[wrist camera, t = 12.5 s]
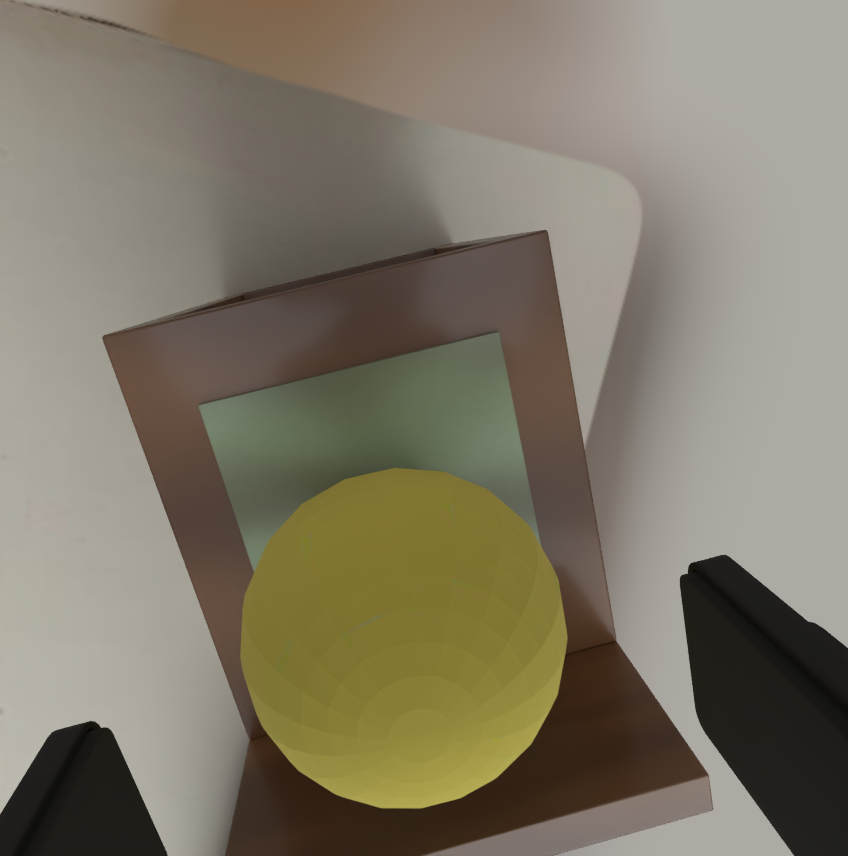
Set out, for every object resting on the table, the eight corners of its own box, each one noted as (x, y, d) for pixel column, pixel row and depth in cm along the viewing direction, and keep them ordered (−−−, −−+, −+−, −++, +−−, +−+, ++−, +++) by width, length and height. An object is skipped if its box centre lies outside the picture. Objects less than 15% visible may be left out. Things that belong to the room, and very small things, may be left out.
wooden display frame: (223, 298, 35) (-19, 372, 12) (453, 243, 36) (635, 216, 13) (300, 545, 39) (226, 949, 16) (505, 492, 40) (714, 810, 17)
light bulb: (352, 359, 19) (353, 464, 9) (535, 473, 20) (701, 667, 11) (236, 543, 20) (126, 812, 10) (418, 639, 21) (473, 951, 12)
